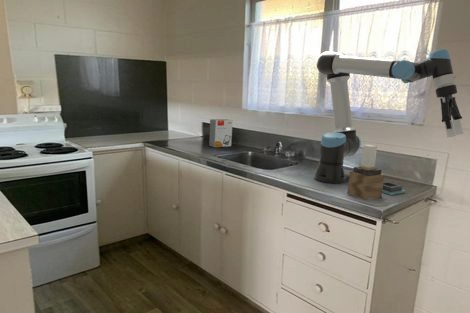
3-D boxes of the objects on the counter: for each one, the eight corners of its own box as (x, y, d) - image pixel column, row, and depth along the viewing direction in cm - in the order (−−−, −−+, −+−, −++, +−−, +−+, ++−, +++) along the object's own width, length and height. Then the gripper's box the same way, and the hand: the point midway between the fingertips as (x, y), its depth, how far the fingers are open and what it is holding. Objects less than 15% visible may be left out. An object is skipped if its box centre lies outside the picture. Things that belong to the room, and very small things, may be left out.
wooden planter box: (347, 192, 152) (350, 166, 149) (362, 190, 157) (365, 165, 154) (365, 199, 143) (369, 172, 141) (381, 196, 148) (385, 170, 146)
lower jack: (371, 188, 159) (372, 182, 159) (385, 186, 164) (386, 180, 164) (390, 195, 151) (391, 188, 150) (404, 192, 156) (405, 186, 155)
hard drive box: (214, 147, 249) (214, 120, 245) (208, 145, 255) (209, 119, 251) (231, 146, 258) (232, 119, 254) (226, 144, 264) (227, 118, 260)
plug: (360, 172, 149) (363, 145, 146) (366, 171, 150) (369, 144, 148) (367, 174, 145) (370, 146, 143) (373, 173, 147) (377, 146, 145)
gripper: (447, 82, 133) (458, 135, 132) (462, 84, 150) (472, 131, 150) (426, 88, 138) (437, 139, 138) (443, 89, 156) (453, 135, 155)
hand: (455, 135), depth 144 cm, fingers open, 13 cm apart
